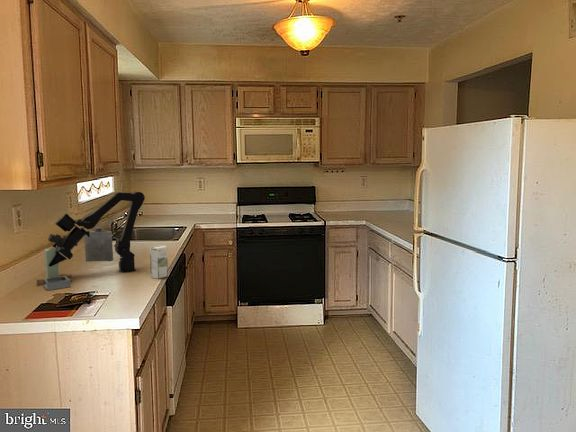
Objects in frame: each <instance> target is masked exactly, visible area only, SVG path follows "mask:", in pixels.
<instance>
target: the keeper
mask: <svg viewBox="0 0 576 432" xmlns="http://www.w3.org/2000/svg"><path fill="white" fill-rule="evenodd" d="M61 276H62V277H54V278H47V279H43V280H44V285H43V286H44V289H46V290H47V291H53V290H60V289H65V288H71V281H70V279H69V278H67V277H66V276H64V275H61Z"/></svg>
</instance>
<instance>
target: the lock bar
mask: <svg viewBox="0 0 576 432" xmlns="http://www.w3.org/2000/svg"><path fill="white" fill-rule="evenodd" d="M55 250H56V251H57V249H56V248H54V247H53V249H52V248H44V262H45V278H50V277H57V276H60V272H59V270H60V269H59V263H57V264H55V265H53V266H51V267H50V266H49V264H50V262H51V261H52V259H53V258H54V256H55Z"/></svg>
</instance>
